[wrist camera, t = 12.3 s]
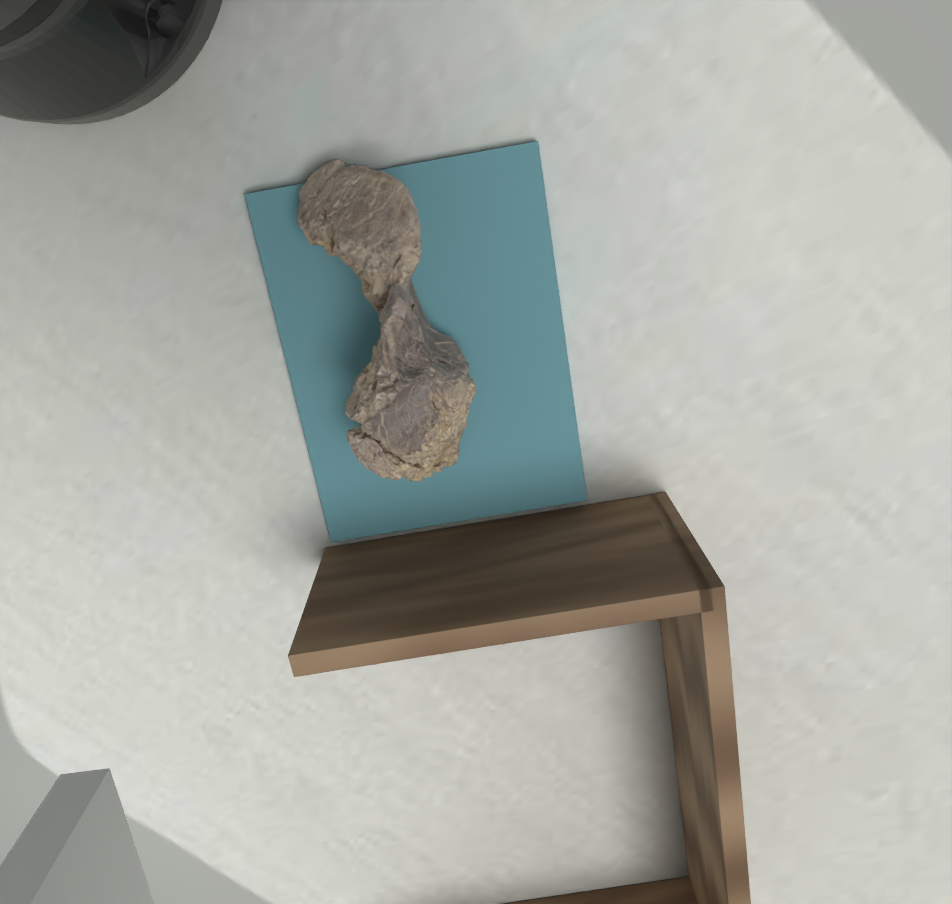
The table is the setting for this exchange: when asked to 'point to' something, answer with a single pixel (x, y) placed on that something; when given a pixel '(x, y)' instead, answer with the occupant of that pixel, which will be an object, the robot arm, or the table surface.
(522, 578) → the walnut cubby
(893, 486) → the table surface
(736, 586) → the table surface
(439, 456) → the rock
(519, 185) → the teal rubber mat
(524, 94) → the table surface
